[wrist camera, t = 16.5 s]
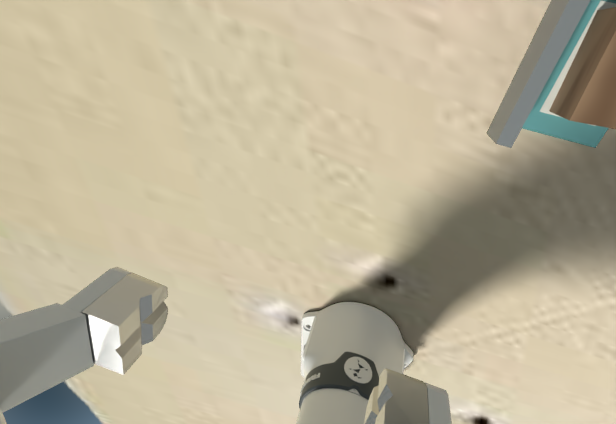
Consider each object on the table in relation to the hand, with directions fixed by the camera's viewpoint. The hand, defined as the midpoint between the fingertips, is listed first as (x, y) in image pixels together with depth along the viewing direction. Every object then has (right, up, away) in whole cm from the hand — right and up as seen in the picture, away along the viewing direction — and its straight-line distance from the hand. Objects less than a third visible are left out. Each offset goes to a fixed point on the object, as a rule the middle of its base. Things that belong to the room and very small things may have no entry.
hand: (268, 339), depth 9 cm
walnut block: (+29, +17, +23) cm, 41 cm away
